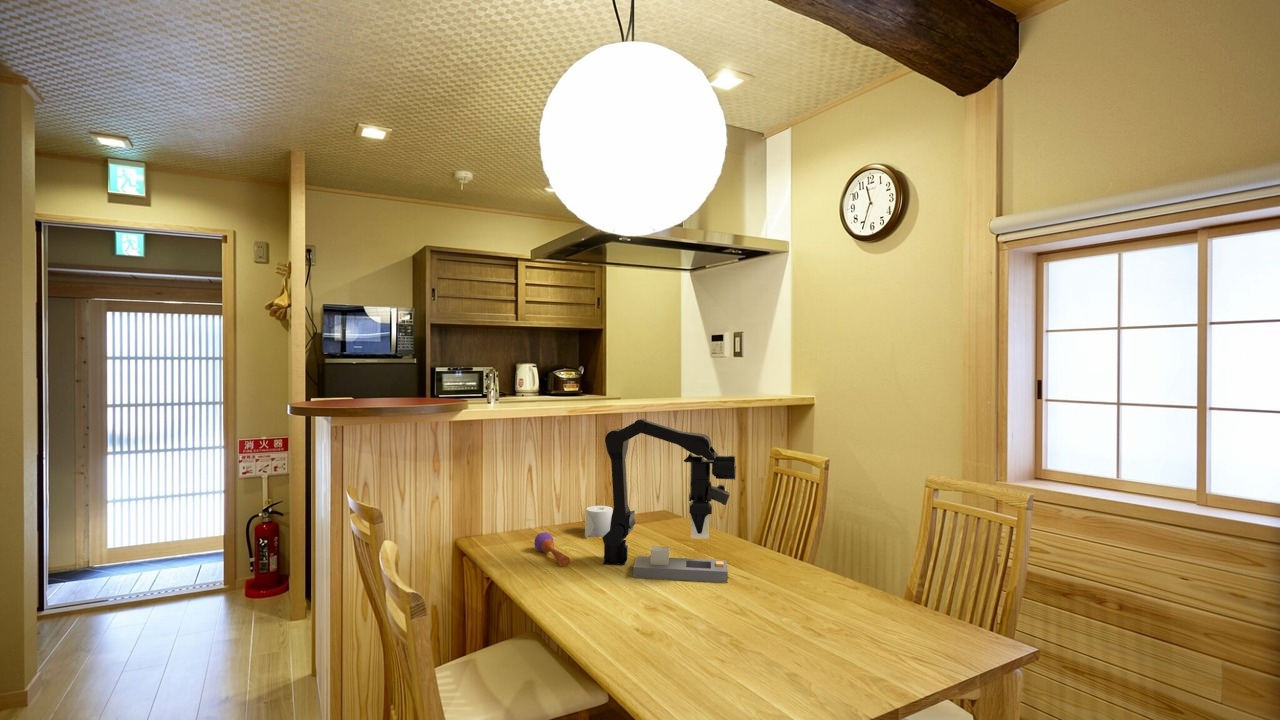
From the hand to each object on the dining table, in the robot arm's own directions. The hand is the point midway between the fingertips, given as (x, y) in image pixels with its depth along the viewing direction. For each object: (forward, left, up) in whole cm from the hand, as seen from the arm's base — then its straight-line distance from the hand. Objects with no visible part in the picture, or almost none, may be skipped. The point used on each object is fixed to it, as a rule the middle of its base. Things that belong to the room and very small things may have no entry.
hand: (699, 531), depth 181 cm
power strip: (-5, -5, -11) cm, 13 cm away
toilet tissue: (-36, +32, -11) cm, 49 cm away
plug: (0, 0, -2) cm, 2 cm away
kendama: (-45, +5, -12) cm, 47 cm away
